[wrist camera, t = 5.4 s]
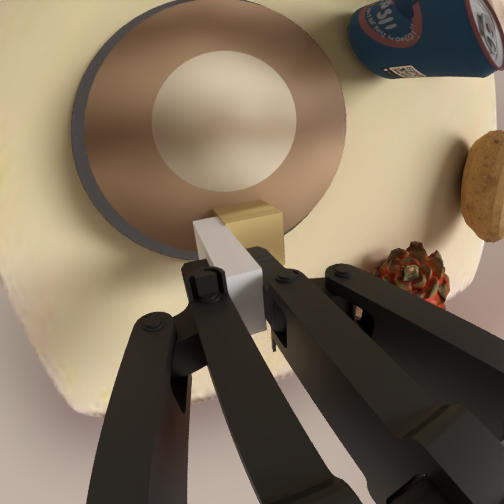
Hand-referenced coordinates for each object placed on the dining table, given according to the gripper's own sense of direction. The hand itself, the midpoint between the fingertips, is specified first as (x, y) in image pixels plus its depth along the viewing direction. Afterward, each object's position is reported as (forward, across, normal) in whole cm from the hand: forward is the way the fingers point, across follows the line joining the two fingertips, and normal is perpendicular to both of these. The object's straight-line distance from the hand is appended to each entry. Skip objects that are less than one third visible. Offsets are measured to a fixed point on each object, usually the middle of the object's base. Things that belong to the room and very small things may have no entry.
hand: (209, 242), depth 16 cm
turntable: (+4, +2, +6) cm, 8 cm away
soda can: (+4, +16, +14) cm, 21 cm away
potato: (+4, +33, +1) cm, 33 cm away
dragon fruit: (+4, +19, -9) cm, 22 cm away
